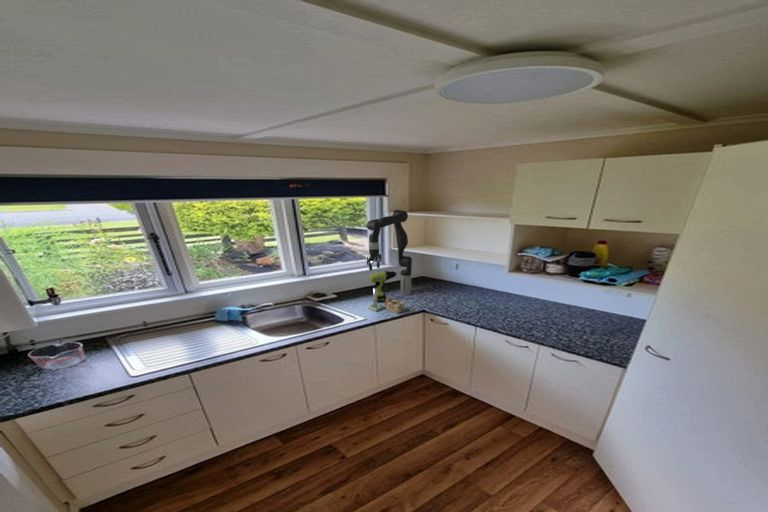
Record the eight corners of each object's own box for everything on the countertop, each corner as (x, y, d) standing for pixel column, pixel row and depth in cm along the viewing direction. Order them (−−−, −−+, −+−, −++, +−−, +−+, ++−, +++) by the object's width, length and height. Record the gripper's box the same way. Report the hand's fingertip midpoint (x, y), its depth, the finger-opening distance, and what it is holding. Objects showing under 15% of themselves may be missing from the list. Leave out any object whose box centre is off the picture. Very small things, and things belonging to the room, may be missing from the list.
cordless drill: (397, 298, 260) (397, 269, 254) (399, 301, 253) (399, 271, 247) (370, 300, 256) (369, 271, 250) (371, 303, 249) (370, 273, 244)
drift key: (387, 306, 241) (387, 298, 239) (390, 307, 239) (390, 299, 238) (385, 307, 239) (385, 299, 237) (388, 308, 237) (388, 300, 235)
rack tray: (374, 306, 243) (374, 303, 243) (382, 308, 238) (382, 305, 238) (368, 309, 237) (368, 306, 236) (376, 311, 232) (376, 308, 232)
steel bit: (375, 307, 240) (374, 287, 236) (378, 307, 238) (378, 288, 234) (372, 308, 237) (372, 288, 234) (375, 309, 235) (375, 289, 232)
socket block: (394, 306, 241) (394, 299, 240) (404, 309, 235) (404, 302, 234) (386, 310, 234) (386, 303, 232) (396, 314, 228) (396, 306, 226)
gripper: (371, 250, 219) (372, 272, 223) (384, 246, 230) (384, 267, 234) (363, 248, 224) (364, 270, 227) (376, 245, 234) (376, 266, 238)
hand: (374, 269), depth 230 cm, fingers open, 8 cm apart
